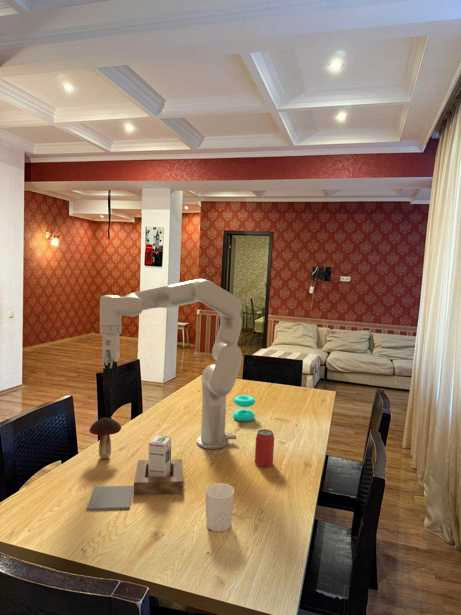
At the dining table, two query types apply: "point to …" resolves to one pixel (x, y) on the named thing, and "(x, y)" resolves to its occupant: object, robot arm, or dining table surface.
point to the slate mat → (110, 498)
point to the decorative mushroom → (105, 434)
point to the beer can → (264, 448)
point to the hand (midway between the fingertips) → (110, 375)
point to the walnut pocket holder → (158, 480)
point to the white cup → (219, 506)
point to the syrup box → (159, 457)
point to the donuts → (244, 413)
